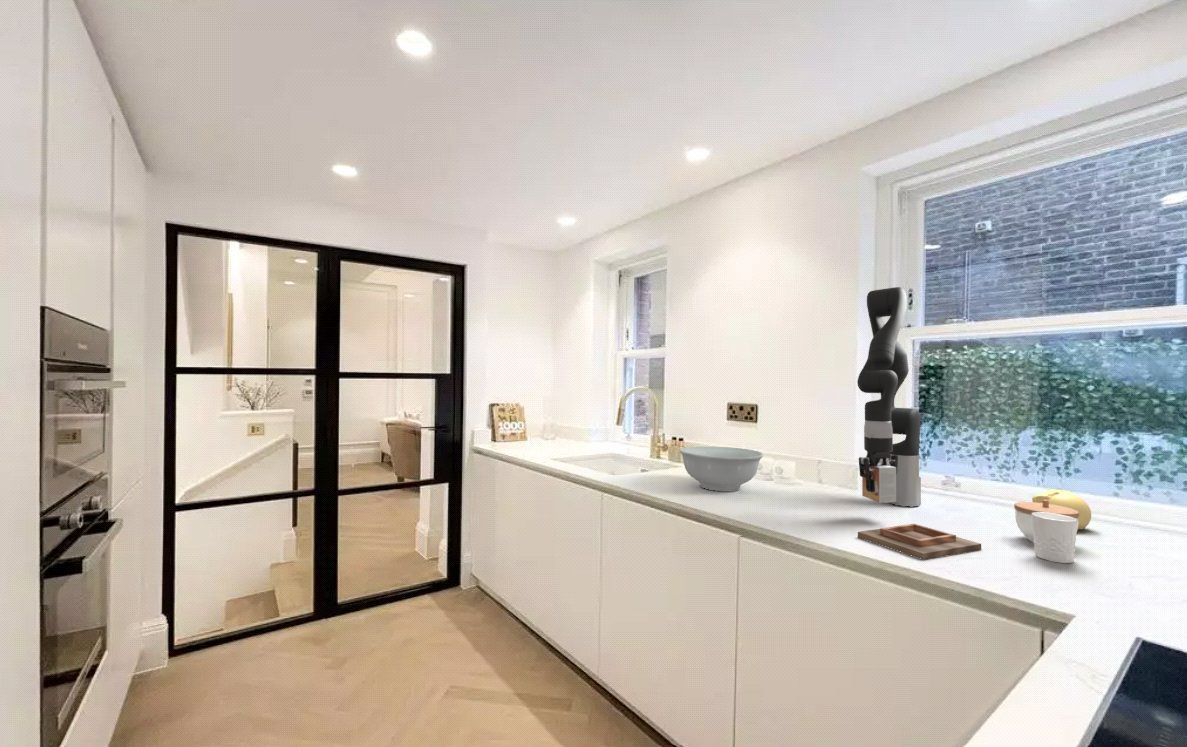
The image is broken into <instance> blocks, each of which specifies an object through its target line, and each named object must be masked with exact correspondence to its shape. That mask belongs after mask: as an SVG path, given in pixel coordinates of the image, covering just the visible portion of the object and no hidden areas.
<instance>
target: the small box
mask: <svg viewBox="0 0 1187 747" xmlns="http://www.w3.org/2000/svg"><path fill="white" fill-rule="evenodd" d="M869 468H871V469H874V468H875V469H876V472H875V477H874V479H873V480H874V482H875V491H874V492H869V491H867V489H866V479H865V478H864V477H861V478H862V479H861V480H862V481H861V482H862V484H861V485H862V486H861V487H862V488H861V489H862V490H861V492H862V495H861V496H862V497H863V498H864V497H865V498H868V499H870V500H872V501H875V502H876V503H888V502H896V467H892V466H887V465H881V466H877V467H876V466H870V465H869ZM864 473H865V470H864ZM871 473H872V472H870V475H871Z"/></svg>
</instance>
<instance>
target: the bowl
mask: <svg viewBox="0 0 1187 747" xmlns="http://www.w3.org/2000/svg"><path fill="white" fill-rule="evenodd" d="M679 453H680V454H681V455H682V459H683V465H684V469H685V471H686V473H687V474H688V475H689V476H690V477H691V478H692V479H694V480H695V481H697V482H698V483H699V486H700V488H702V489H704V488H705V489H704V490H707V489H709V490H708V491H713V490H715V491H714V492H736V491H735V490H737V491H740V489H741V486H742V485H744V484H746V483H748V482H750V481H751V480H752V479H753V478H755V476H756V474H757V471H758V469H759V464H760V460H761V459H762V458H763V457H764V454H763V453H762V452H761V451H759V450H754V449H748V448H742V447H741V448H740V447H728V446H687V447H682V448H679Z"/></svg>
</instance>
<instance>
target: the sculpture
mask: <svg viewBox="0 0 1187 747" xmlns="http://www.w3.org/2000/svg"><path fill="white" fill-rule="evenodd" d="M1032 496H1033V495H1032ZM1031 500H1032V501H1031V502H1035V503H1043V500H1048V501H1049V504H1052V505H1058V506H1063V507H1068V508H1071V509H1074V510H1076V511H1078V512H1079V517H1078V521H1079V522H1078V530H1083V529H1085V528H1086V527H1088V525H1089V524H1090V523H1091V519H1092V511H1091V508H1090V505H1089V504H1088V503H1087V502H1086V501H1085V500H1084V499H1083V498H1082V497H1081V496H1078V495H1076V494H1074V493H1072V492H1071V491H1070V490H1064V489H1059V490H1058V489H1052V488H1050V489H1048V490H1046V491H1045V492H1042V493H1039V494H1035V495H1034V496H1033V497H1032V499H1031Z"/></svg>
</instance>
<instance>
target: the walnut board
mask: <svg viewBox="0 0 1187 747" xmlns="http://www.w3.org/2000/svg"><path fill="white" fill-rule="evenodd" d="M858 537H859V538H858ZM857 538H858V539H861V538H862V539H861V540H864V539H865V541H867V540H868V541H867V542H870V541H871V542H870V543H874V544H876V543H877V544H876V545H879V544H880V545H879V546H881V545H883V546H882V547H884V546H886V547H885V548H887V547H889V548H888V549H890V548H892V549H891V550H893V549H895V550H894V551H896V550H898V551H897V552H899V551H901V552H900V553H902V552H903V553H902V554H905V553H906V554H905V555H908V554H909V555H908V556H911V555H912V556H911V557H913V556H915V557H914V558H916V557H918V558H917V559H919V558H921V559H920V560H922V559H926V560H929V559H928V558H932V559H936V557H937V558H941V556H943V557H947V556H946V555H949V556H954V555H959V554H958V553H960V554H965V553H964V552H966V553H970V551H971V552H975V551H976V550H977V551H981V550H982V543H979V542H976V541H972V540H969V539H967V538H962V537H959V536H957V535H956V534H953V533H949V532H946V531H942V530H939V529H934V528H931V527H928V526H925V525H920V524H917V523H909V524H902V525H894V526H888V527H880V528H876V529H870V530H867V529H866V530H861V531H860V530H859V531H857ZM953 554H954V555H953Z"/></svg>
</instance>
